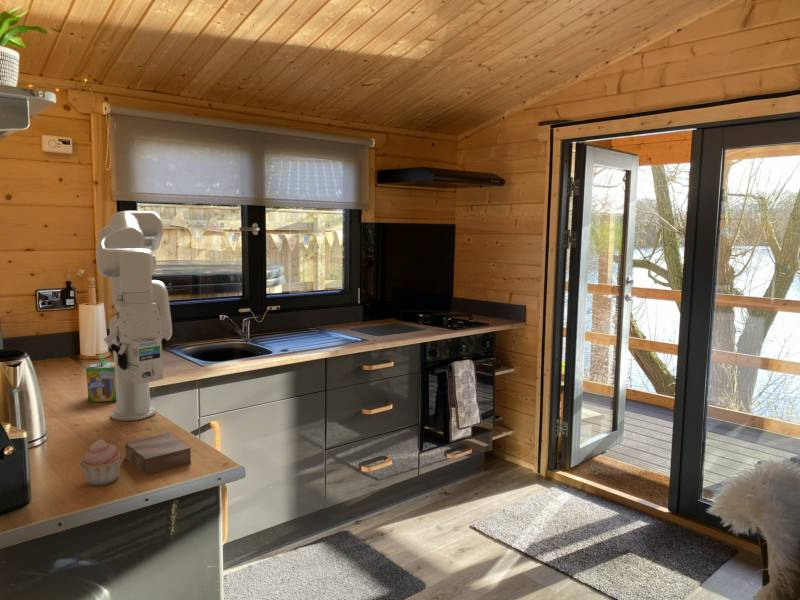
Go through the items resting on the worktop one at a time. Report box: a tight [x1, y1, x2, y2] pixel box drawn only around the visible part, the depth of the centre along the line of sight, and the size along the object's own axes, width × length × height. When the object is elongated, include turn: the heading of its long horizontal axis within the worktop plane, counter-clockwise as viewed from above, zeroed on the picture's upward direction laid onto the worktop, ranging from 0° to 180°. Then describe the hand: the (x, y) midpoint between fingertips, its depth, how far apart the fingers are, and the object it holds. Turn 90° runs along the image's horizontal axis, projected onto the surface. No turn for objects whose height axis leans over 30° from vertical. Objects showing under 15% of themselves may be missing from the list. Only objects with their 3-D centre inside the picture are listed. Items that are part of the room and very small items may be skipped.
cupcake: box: [78, 438, 125, 487], centre depth 146 cm, size 9×9×10 cm
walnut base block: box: [124, 432, 192, 476], centre depth 158 cm, size 14×11×4 cm
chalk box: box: [85, 353, 116, 404], centre depth 208 cm, size 9×9×15 cm
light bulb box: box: [116, 339, 164, 384], centre depth 162 cm, size 11×7×11 cm, turn 55°
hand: (139, 366), depth 162 cm, fingers closed on light bulb box, 7 cm apart
